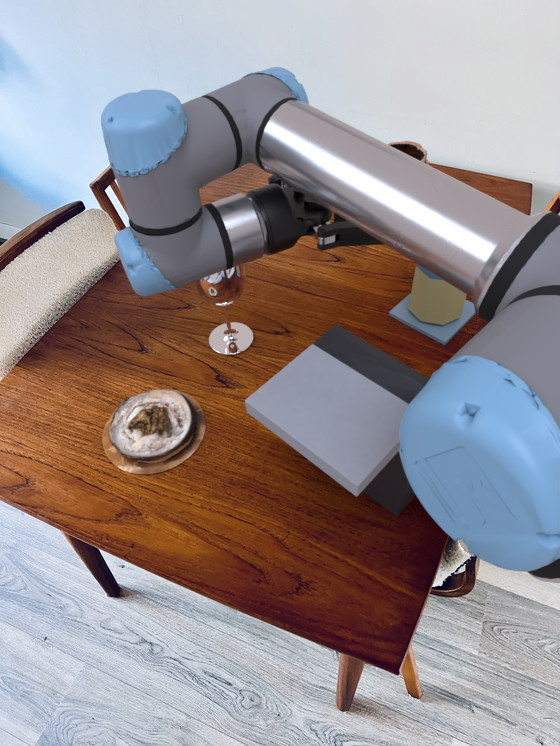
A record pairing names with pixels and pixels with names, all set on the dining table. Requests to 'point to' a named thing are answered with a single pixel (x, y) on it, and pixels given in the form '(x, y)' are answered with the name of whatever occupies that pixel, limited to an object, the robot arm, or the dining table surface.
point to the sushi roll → (154, 431)
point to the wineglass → (226, 309)
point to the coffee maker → (344, 413)
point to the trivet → (431, 329)
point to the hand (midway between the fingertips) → (408, 174)
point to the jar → (434, 298)
